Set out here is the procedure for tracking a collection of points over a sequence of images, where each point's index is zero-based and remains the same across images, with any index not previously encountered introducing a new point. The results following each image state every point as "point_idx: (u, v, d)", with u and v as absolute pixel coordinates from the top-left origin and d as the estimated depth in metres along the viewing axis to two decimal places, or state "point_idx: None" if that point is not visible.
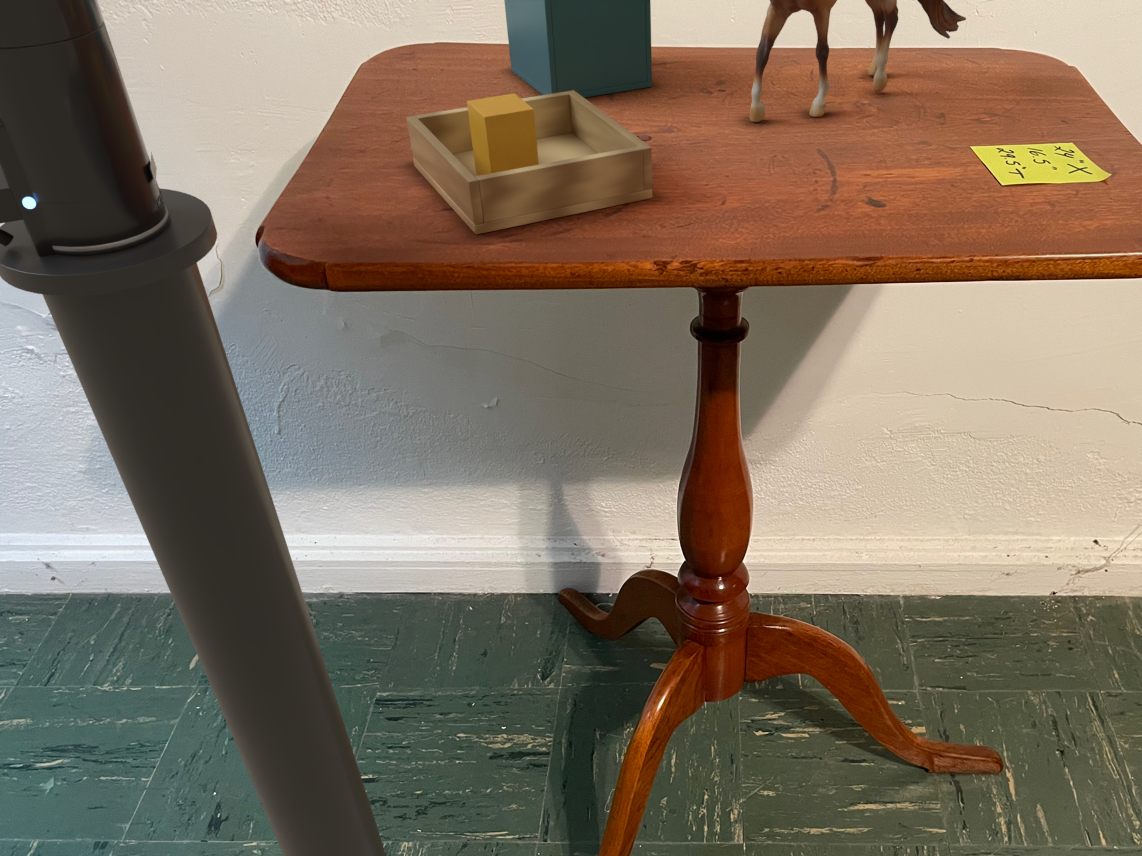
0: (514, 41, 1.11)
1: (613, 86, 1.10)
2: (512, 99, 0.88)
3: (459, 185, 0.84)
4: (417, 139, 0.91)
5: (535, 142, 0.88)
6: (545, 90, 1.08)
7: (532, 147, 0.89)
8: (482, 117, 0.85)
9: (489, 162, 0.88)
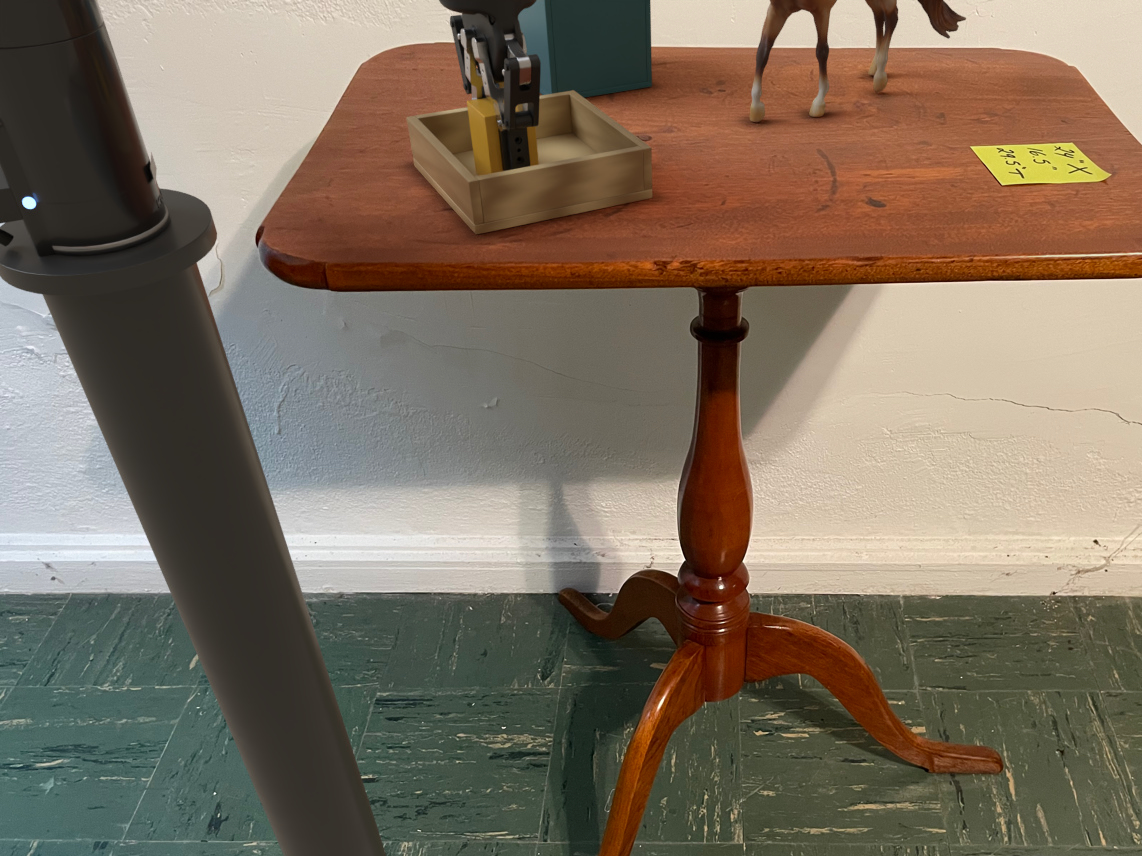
0: None
1: (613, 86, 1.10)
2: None
3: (459, 185, 0.84)
4: (417, 139, 0.91)
5: (535, 142, 0.88)
6: (545, 90, 1.08)
7: (532, 147, 0.89)
8: (482, 117, 0.85)
9: (489, 162, 0.88)
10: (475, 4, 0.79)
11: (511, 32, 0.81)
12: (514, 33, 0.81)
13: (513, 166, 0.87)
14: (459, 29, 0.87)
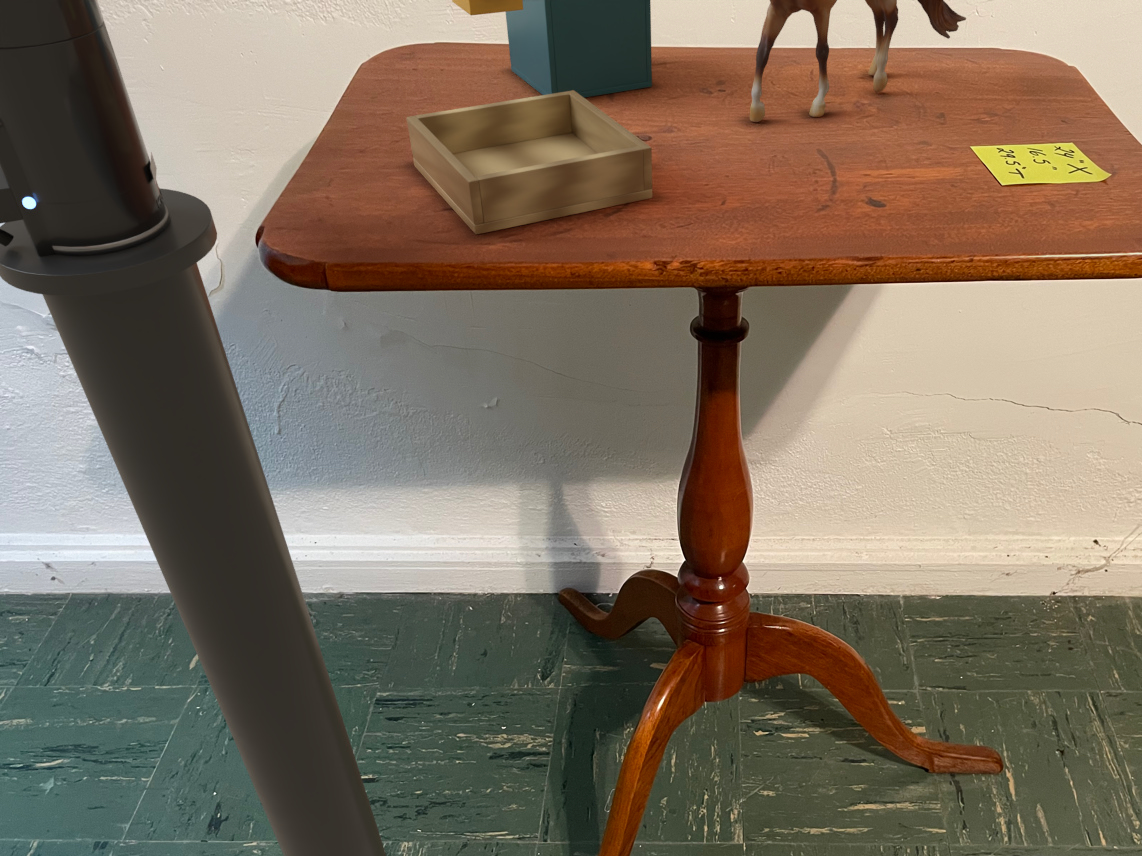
0: (514, 41, 1.11)
1: (613, 86, 1.10)
2: None
3: (459, 185, 0.84)
4: (417, 139, 0.91)
5: None
6: (545, 90, 1.08)
7: None
8: None
9: None
10: None
11: None
12: None
13: None
14: None
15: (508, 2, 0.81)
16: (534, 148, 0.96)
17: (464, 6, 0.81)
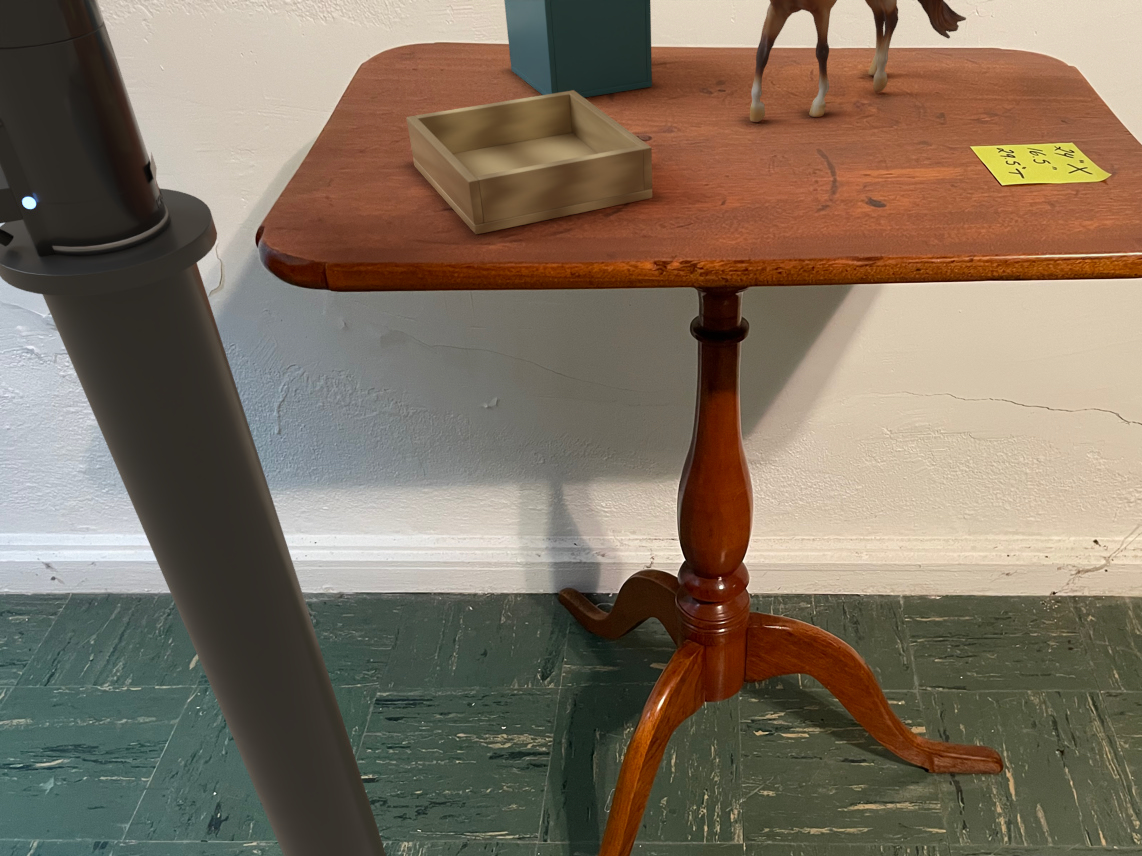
0: (514, 41, 1.11)
1: (613, 86, 1.10)
2: None
3: (459, 185, 0.84)
4: (417, 139, 0.91)
5: None
6: (545, 90, 1.08)
7: None
8: None
9: None
10: None
11: None
12: None
13: None
14: None
15: None
16: (534, 148, 0.96)
17: None
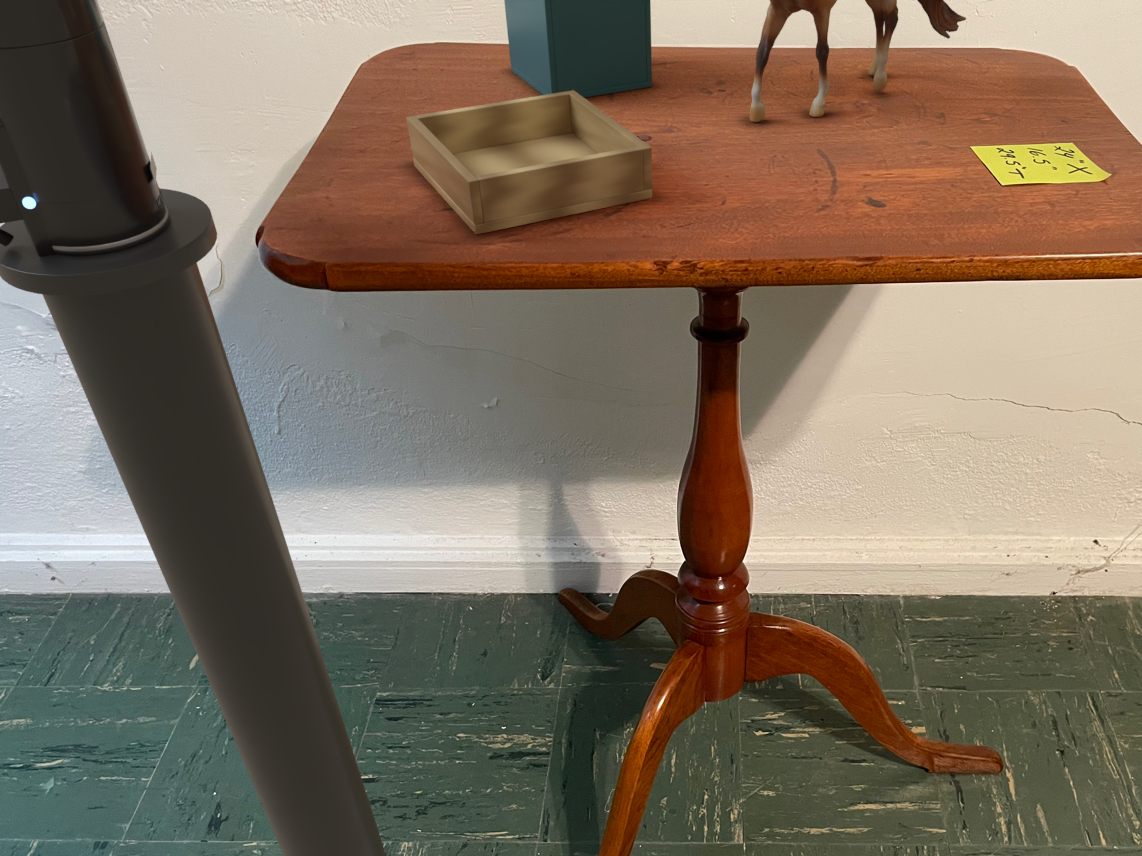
0: (514, 41, 1.11)
1: (613, 86, 1.10)
2: None
3: (459, 185, 0.84)
4: (417, 139, 0.91)
5: None
6: (545, 90, 1.08)
7: None
8: None
9: None
10: None
11: None
12: None
13: None
14: None
15: None
16: (534, 148, 0.96)
17: None
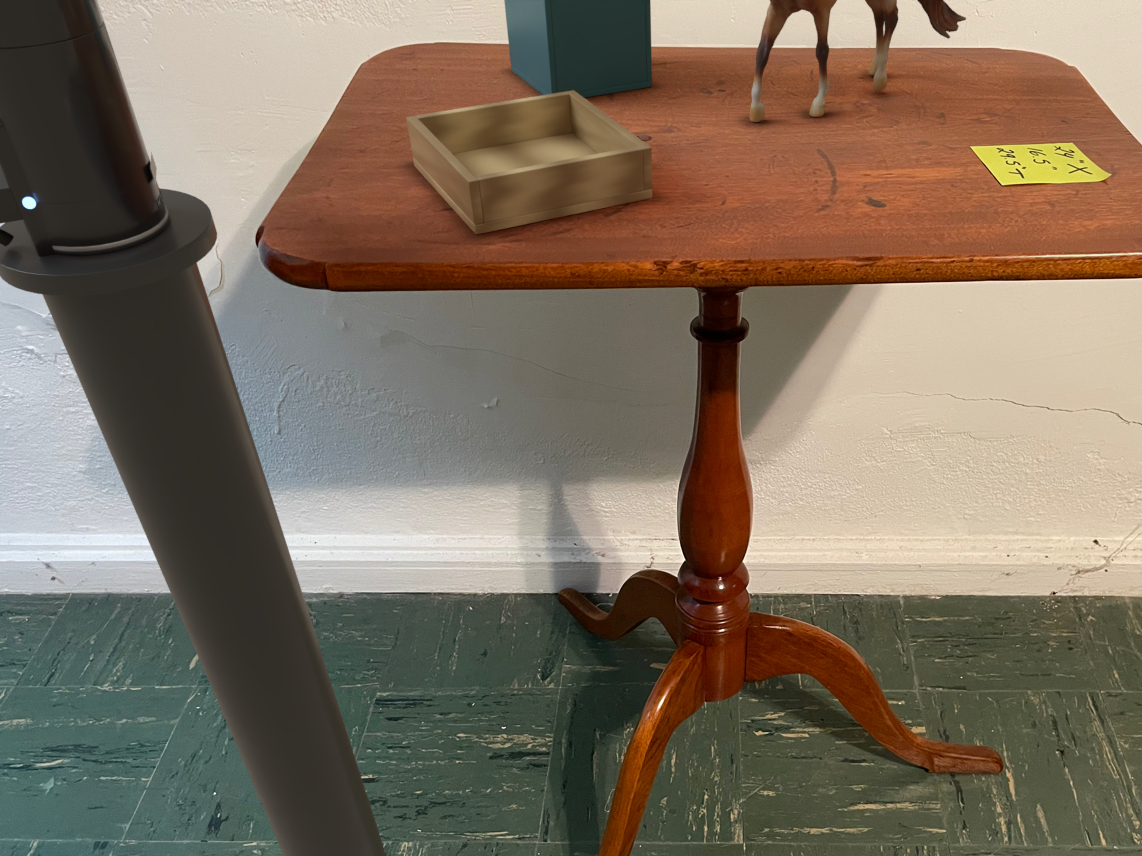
0: (514, 41, 1.11)
1: (613, 86, 1.10)
2: None
3: (459, 185, 0.84)
4: (417, 139, 0.91)
5: None
6: (545, 90, 1.08)
7: None
8: None
9: None
10: None
11: None
12: None
13: None
14: None
15: None
16: (534, 148, 0.96)
17: None
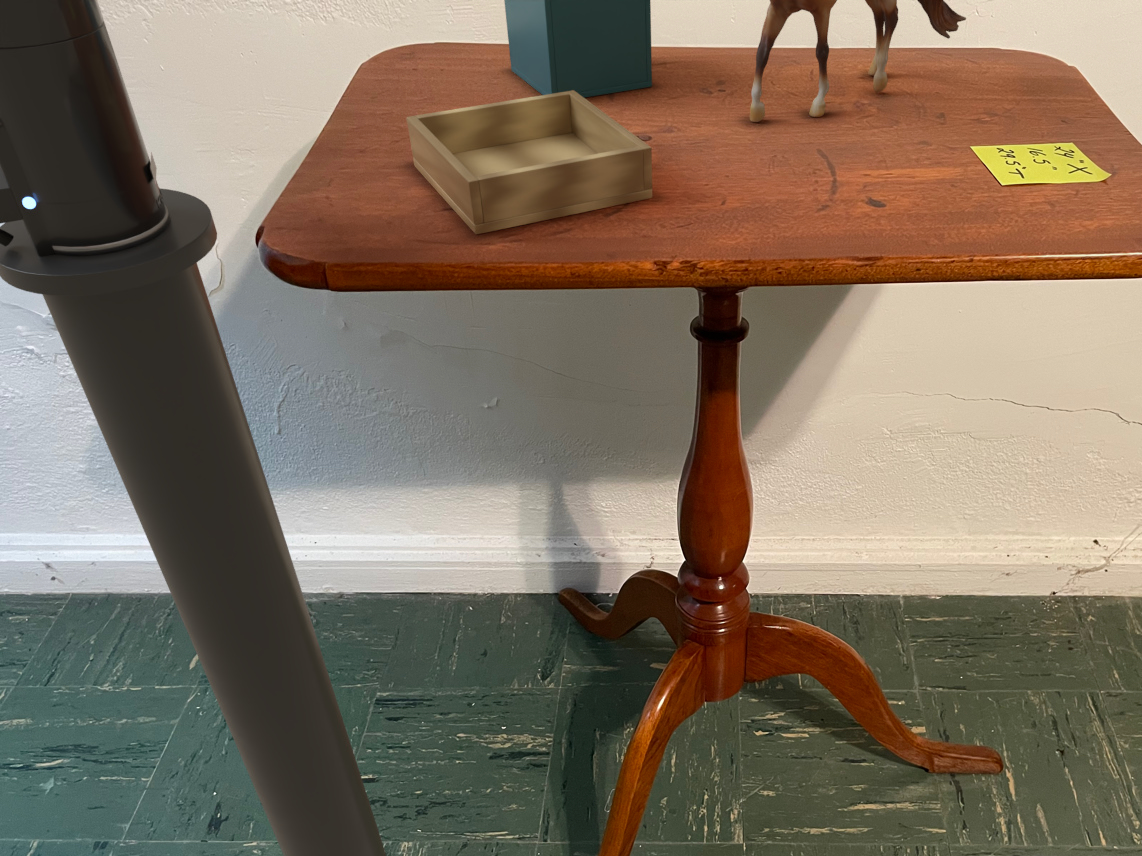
0: (514, 41, 1.11)
1: (613, 86, 1.10)
2: None
3: (459, 185, 0.84)
4: (417, 139, 0.91)
5: None
6: (545, 90, 1.08)
7: None
8: None
9: None
10: None
11: None
12: None
13: None
14: None
15: None
16: (534, 148, 0.96)
17: None
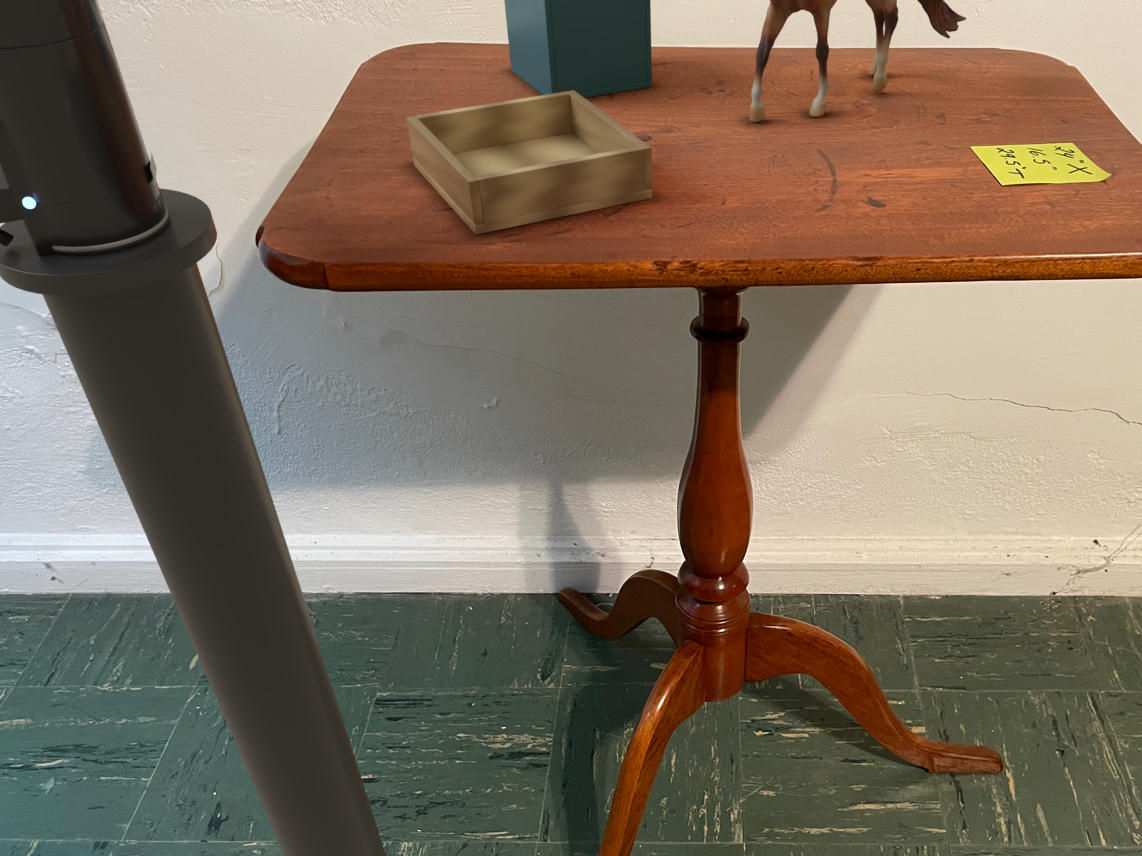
0: (514, 41, 1.11)
1: (613, 86, 1.10)
2: None
3: (459, 185, 0.84)
4: (417, 139, 0.91)
5: None
6: (545, 90, 1.08)
7: None
8: None
9: None
10: None
11: None
12: None
13: None
14: None
15: None
16: (534, 148, 0.96)
17: None
